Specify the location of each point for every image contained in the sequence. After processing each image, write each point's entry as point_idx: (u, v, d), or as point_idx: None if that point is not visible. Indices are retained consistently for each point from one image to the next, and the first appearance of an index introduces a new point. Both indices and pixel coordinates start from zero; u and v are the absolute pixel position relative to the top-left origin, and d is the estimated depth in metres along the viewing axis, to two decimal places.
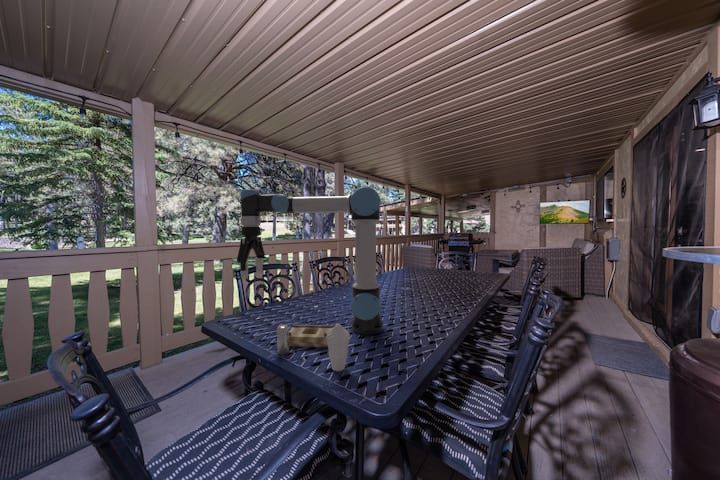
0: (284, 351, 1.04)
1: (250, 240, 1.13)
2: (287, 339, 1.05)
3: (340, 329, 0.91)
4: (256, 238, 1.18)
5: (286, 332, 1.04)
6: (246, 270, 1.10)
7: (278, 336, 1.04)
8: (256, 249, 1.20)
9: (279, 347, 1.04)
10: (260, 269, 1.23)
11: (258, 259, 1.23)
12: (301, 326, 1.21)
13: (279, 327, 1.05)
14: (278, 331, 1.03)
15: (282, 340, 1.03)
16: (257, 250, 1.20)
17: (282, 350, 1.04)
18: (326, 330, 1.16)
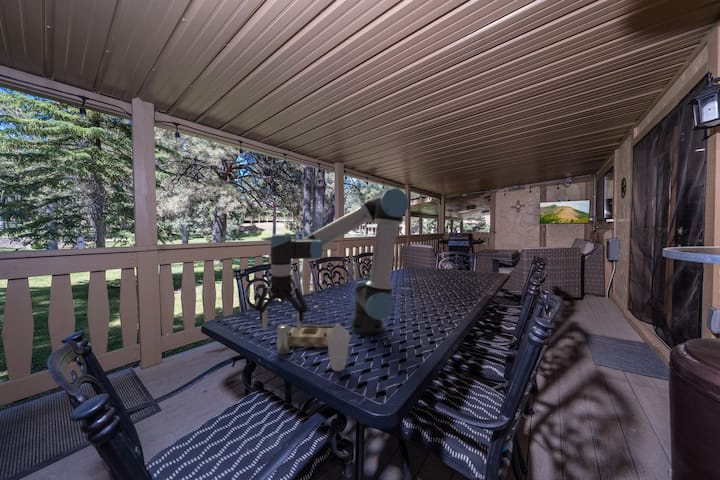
0: (284, 351, 1.04)
1: (272, 290, 1.03)
2: (287, 339, 1.05)
3: (340, 329, 0.91)
4: (286, 289, 1.03)
5: (286, 332, 1.04)
6: None
7: (278, 336, 1.04)
8: None
9: (279, 347, 1.04)
10: None
11: None
12: (301, 326, 1.21)
13: (279, 327, 1.05)
14: (278, 331, 1.03)
15: (282, 340, 1.03)
16: None
17: (282, 350, 1.04)
18: (326, 330, 1.16)
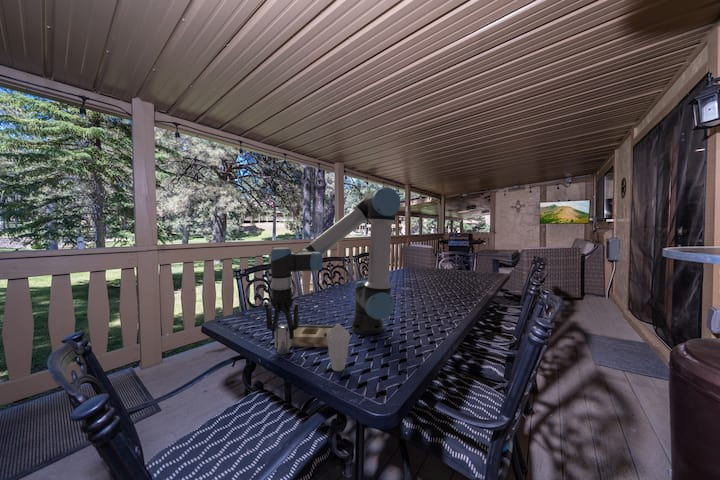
0: (284, 351, 1.04)
1: (273, 303, 1.04)
2: None
3: (340, 329, 0.91)
4: (287, 301, 1.03)
5: (286, 332, 1.04)
6: (275, 339, 1.05)
7: (278, 336, 1.04)
8: None
9: (279, 347, 1.04)
10: None
11: None
12: (301, 326, 1.21)
13: (279, 327, 1.05)
14: (278, 331, 1.03)
15: (282, 340, 1.03)
16: None
17: (282, 349, 1.04)
18: (326, 330, 1.16)
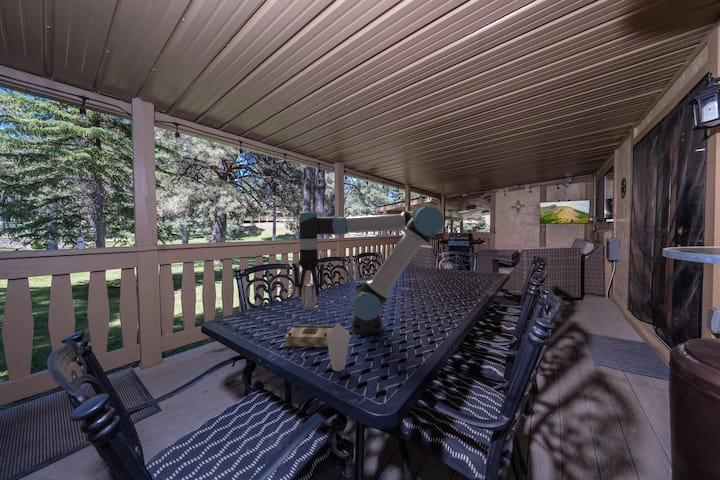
0: (310, 306, 1.14)
1: (301, 262, 1.13)
2: (313, 296, 1.14)
3: (340, 329, 0.91)
4: (314, 261, 1.13)
5: (312, 289, 1.14)
6: (302, 295, 1.14)
7: (305, 292, 1.13)
8: None
9: (306, 303, 1.13)
10: None
11: (314, 289, 1.15)
12: (301, 326, 1.21)
13: (306, 285, 1.14)
14: (305, 288, 1.13)
15: (309, 296, 1.13)
16: None
17: (309, 305, 1.13)
18: (326, 330, 1.16)
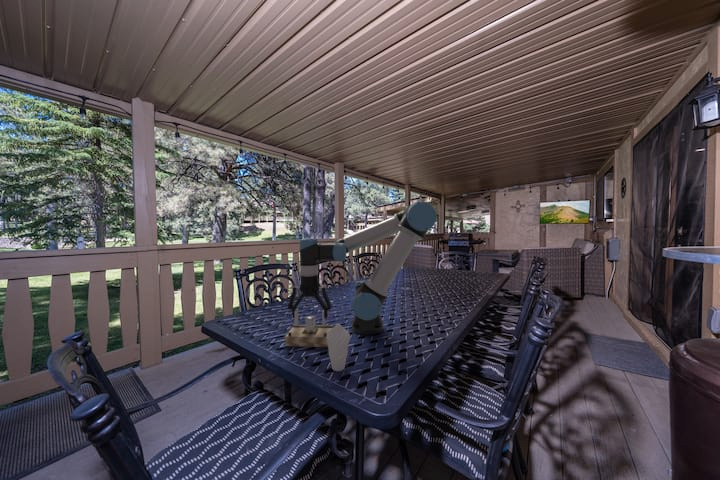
0: None
1: (301, 289, 1.14)
2: (314, 328, 1.15)
3: (340, 329, 0.91)
4: (314, 287, 1.14)
5: (314, 322, 1.14)
6: (295, 318, 1.15)
7: (307, 326, 1.14)
8: None
9: None
10: None
11: (323, 311, 1.15)
12: (301, 326, 1.21)
13: (307, 317, 1.15)
14: (307, 321, 1.14)
15: (311, 329, 1.14)
16: None
17: None
18: (326, 330, 1.16)
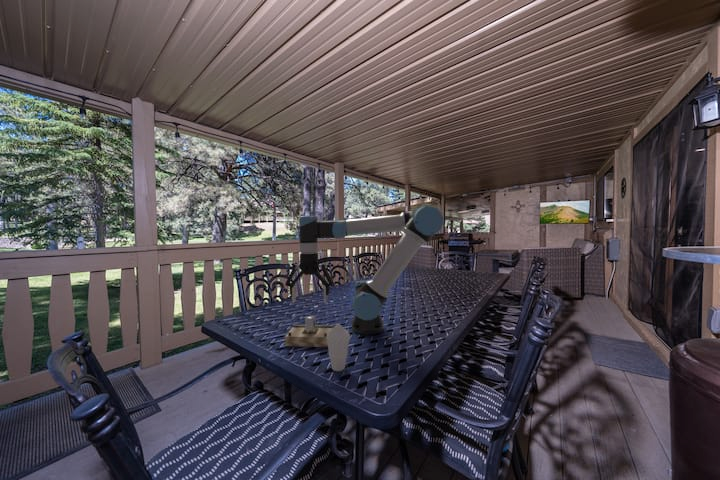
0: None
1: (301, 266, 1.14)
2: (314, 328, 1.15)
3: (340, 329, 0.91)
4: (313, 265, 1.13)
5: (314, 322, 1.15)
6: None
7: (306, 326, 1.14)
8: None
9: None
10: None
11: None
12: (301, 326, 1.21)
13: (307, 317, 1.15)
14: (307, 321, 1.14)
15: (310, 329, 1.14)
16: None
17: None
18: (326, 330, 1.16)
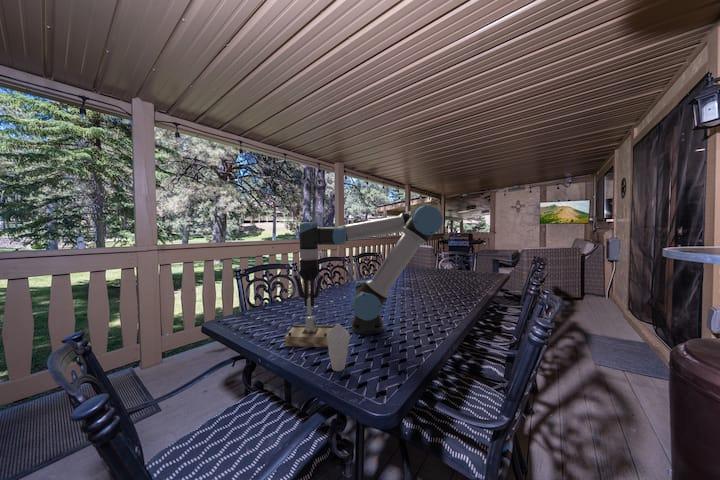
0: None
1: (301, 272, 1.14)
2: (315, 328, 1.15)
3: (340, 329, 0.91)
4: (314, 271, 1.13)
5: (314, 322, 1.15)
6: (307, 306, 1.14)
7: (307, 326, 1.14)
8: None
9: None
10: None
11: None
12: (301, 326, 1.21)
13: (307, 317, 1.15)
14: (307, 321, 1.14)
15: (311, 329, 1.14)
16: None
17: None
18: (326, 330, 1.16)
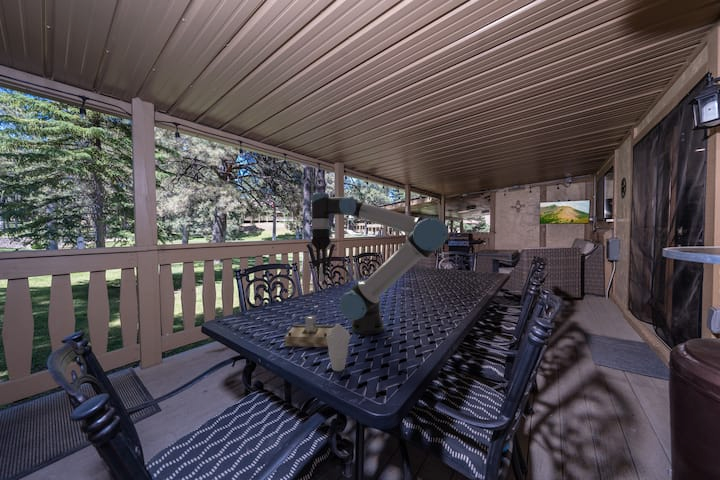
0: None
1: (313, 241, 1.19)
2: (315, 328, 1.15)
3: (340, 329, 0.91)
4: (326, 239, 1.18)
5: (314, 322, 1.15)
6: (319, 274, 1.19)
7: (307, 325, 1.14)
8: None
9: None
10: None
11: None
12: (301, 326, 1.21)
13: (307, 317, 1.15)
14: (307, 321, 1.14)
15: (311, 329, 1.14)
16: None
17: None
18: (326, 330, 1.16)
